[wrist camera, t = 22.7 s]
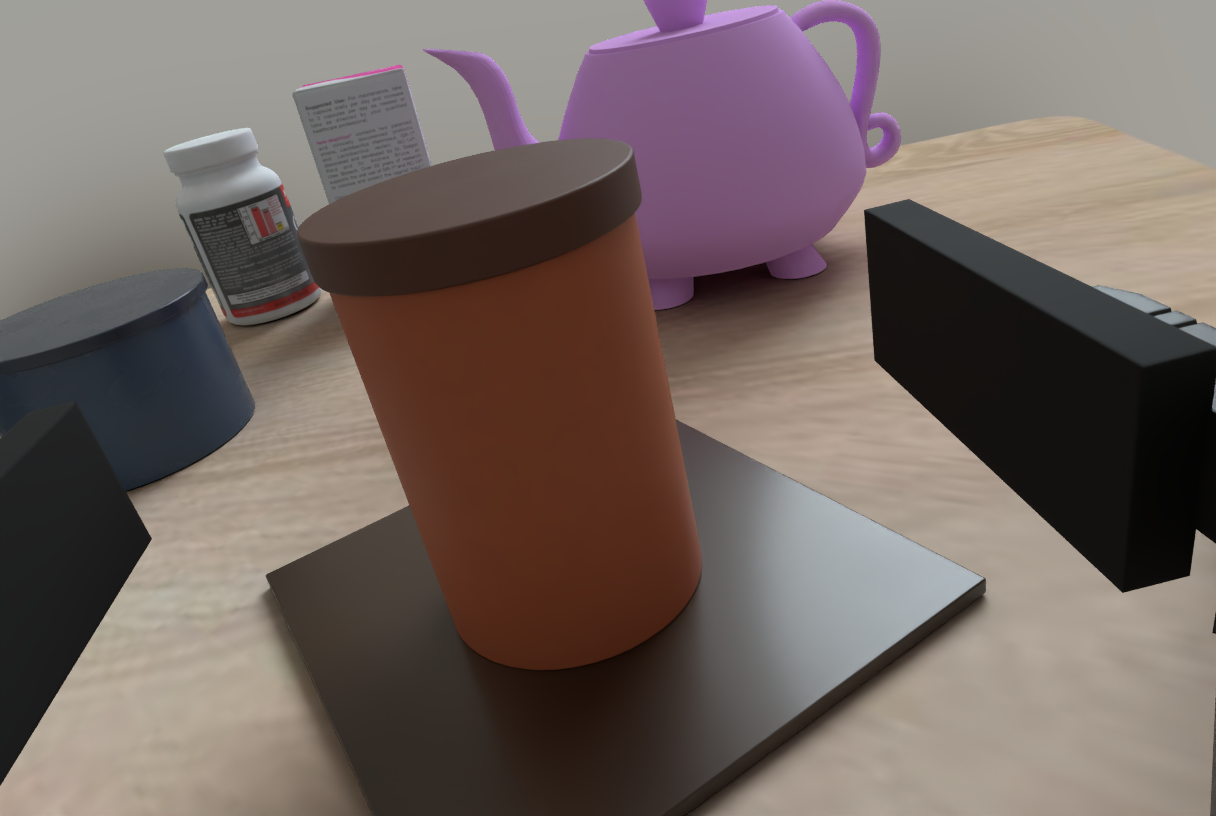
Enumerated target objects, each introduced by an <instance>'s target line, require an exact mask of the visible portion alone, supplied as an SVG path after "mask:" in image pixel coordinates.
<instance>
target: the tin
mask: <svg viewBox="0 0 1216 816" xmlns="http://www.w3.org/2000/svg"><path fill="white" fill-rule="evenodd" d="M207 286H208V284H207V282H206V280H205V277H204V275H203V273H202V272H200V271H198V270H195V269H188V268H186V269H167V270H160V271H154V272H148V273H143V274H138V275H133V276H129V277H125V278H120V279H117V280H113V281H109V282H106V283H102V284H99V285H95V286H91V287H88V288H85V289H82V290H78V291H75V292H73V293H69V294H66V295H64V296H61V297H58V298H55V299H52V300H50V301H47V302H44V303H41V304H39V305H36V306H34V307H31V308H28V309H26V310H24V311H21V312H19V313H16V314H14V315H12V316H10V317H7V318H5V319H3V320H1V321H0V438H1V437H2V436H3V435H4V434H5V433H7V432H8V431H9V430H10V429H11V428H12V427H13V426H14V425H15V424H16V423H18V422H19V421H20V420H21V419H22V418H23V417H24V416H25V415H26V414H27V413H29V412H33V411H37V410H41V409H45V408H49V407H54V406H58V405H62V404H66V403H70V402H74V401H76V403H77V405H78V407H79V408H80V410H81V412H82V414H83V416H84V417H85V419H86V421H87V423H88V425H89V426H90V428H91V430H92V432H93V434H94V435H95V437H96V439H97V441H98V443H99V444H100V446H101V448H102V450H103V452H104V453H105V455H106V457H107V459H108V461H109V462H110V464H111V466H112V468H113V470H114V471H115V473H116V475H117V477H118V479H119V480H120V482H121V484H122V486H123V488H124V489H125V491H127V490H130V489H133V488H136V487H139V486H142V485H145V484H147V483H150V482H153V481H155V480H158V479H160V478H162V477H165V476H167V475H169V474H171V473H174V472H176V471H178V470H180V469H182V468H184V467H186V466H188V465H190V464H192V463H194V462H195V461H197V460H199V459H201V458H203V457H204V456H206V455H207V454H209V453H211V452H212V451H214V450H216V449H217V448H218V447H220V446H221V445H223V444H224V443H226V442H227V441H228V440H229V439H231V438H232V437H233V436H234V435H236V434H237V433H238V432H239V431H240V430H241V429H242V428H243V427H244V426H245V425H246V423H247V422H248V421H249V420H250V418H251V416H252V415H253V412H254V409H255V402H254V400H253V397H252V395H251V393H250V391H249V388H248V386H247V384H246V382H245V379H244V377H243V375H242V373H241V371H240V368H239V366H238V364H237V362H236V359H235V357H234V355H233V353H232V350H231V348H230V346H229V344H228V341H227V339H226V337H225V335H224V333H223V330H222V328H221V326H220V324H219V321H218V319H217V317H216V315H215V312H214V310H213V308H212V306H211V303H210V301H209V299H208V297H207V294H206V292H205V291H206V290H207Z"/></svg>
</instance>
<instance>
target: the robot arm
mask: <svg viewBox="0 0 1216 816" xmlns="http://www.w3.org/2000/svg"><path fill="white" fill-rule="evenodd" d="M864 215H865V230H866V244H867V258H868V273H869V287H870V302H871V316H872V330H873V345H874V359H875V361H876V362H877V363H878V364H879V365H880V366H881V367H882V368H883V369H884V370H885V371H886V372H888V373H889V374H890V375H891V376H892V377H893V378H894V379H895V380H896V381H897V382H898V383H899V384H900V385H901V386H902V387H904V388H905V389H906V390H907V391H908V392H909V393H910V394H911V395H912V396H913V397H914V398H915V399H916V400H917V401H918V402H920V403H921V404H922V405H923V406H924V407H925V408H926V409H927V410H928V411H929V412H930V413H931V414H932V415H933V416H935V417H936V418H937V419H938V420H939V421H940V422H941V423H942V424H943V425H944V426H945V427H946V428H947V429H948V430H949V431H951V432H952V433H953V434H954V435H955V436H956V437H957V438H958V439H959V440H960V441H961V442H962V443H963V444H964V445H965V446H967V447H968V448H969V449H970V450H971V451H972V452H973V453H974V454H975V455H976V456H977V457H978V458H979V459H980V460H981V461H983V462H984V463H985V464H986V465H987V466H988V467H989V468H990V469H991V470H992V471H993V472H994V473H995V474H996V475H998V476H999V477H1000V478H1001V479H1002V480H1003V481H1004V482H1005V483H1006V484H1007V485H1008V486H1009V487H1010V488H1011V489H1012V490H1014V491H1015V492H1016V493H1017V494H1018V495H1019V496H1020V497H1021V498H1022V499H1023V500H1024V501H1025V502H1026V503H1027V504H1028V505H1030V506H1031V507H1032V508H1033V509H1034V510H1035V511H1036V512H1037V513H1038V514H1039V515H1040V516H1041V517H1042V518H1043V519H1044V520H1046V521H1047V522H1048V523H1049V524H1050V525H1051V526H1052V527H1053V528H1054V529H1055V530H1056V531H1057V532H1058V533H1059V534H1061V535H1062V536H1063V537H1064V538H1065V539H1066V540H1067V541H1068V542H1069V543H1070V544H1071V545H1072V546H1073V547H1074V548H1075V549H1077V550H1078V551H1079V552H1080V553H1081V554H1082V555H1083V556H1084V557H1085V558H1086V559H1087V560H1088V561H1089V562H1090V563H1091V564H1093V565H1094V566H1095V567H1096V568H1097V569H1098V570H1099V571H1100V572H1101V573H1102V574H1103V575H1104V576H1105V577H1106V578H1108V579H1109V580H1110V581H1111V582H1112V583H1113V584H1114V585H1115V586H1116V587H1117V588H1118V589H1119V590H1120V591H1121V592H1122V593H1124V592H1128V591H1132V590H1136V589H1140V588H1144V587H1147V586H1151V585H1155V584H1159V583H1163V582H1167V581H1171V580H1175V579H1179V578H1183V577H1187V576H1190V570H1191V563H1192V555H1193V548H1194V540H1195V533H1196V529H1197V530H1198V531H1200V532H1201V533H1202V534H1204V535H1205V536H1206V537H1208V538H1209V539H1210V540H1212V541H1213V542H1214V543H1216V328H1214V327H1212V326H1210V325H1207V324H1205V323H1199V324H1197V322H1196V319H1194V318H1192V317H1190V316H1188V315H1185V314H1183V313H1181V312H1179V311H1173V312H1172V311H1171V308H1170V307H1168V306H1166V305H1163V304H1161V303H1159V302H1157V301H1155V300H1152V299H1150V298H1148V297H1146V296H1144V295H1141V294H1138V293H1134V292H1129V291H1124V290H1119V289H1114V288H1109V287H1104V286H1099V285H1098V286H1094V287H1091V286H1089V285H1087V284H1085V283H1083V282H1081V281H1079V280H1076V279H1074V278H1072V277H1070V276H1068V275H1066V274H1064V273H1062V272H1060V271H1058V270H1056V269H1054V268H1051V267H1049V266H1047V265H1045V264H1043V263H1041V262H1039V261H1037V260H1035V259H1033V258H1031V257H1029V256H1026V255H1024V254H1022V253H1020V252H1018V251H1016V250H1014V249H1012V248H1010V247H1008V246H1006V245H1004V244H1001V243H999V242H997V241H995V240H993V239H991V238H989V237H987V236H985V235H983V234H981V233H979V232H976V231H974V230H972V229H970V228H968V227H966V226H964V225H962V224H960V223H958V222H956V221H954V220H951V219H949V218H947V217H945V216H943V215H941V214H939V213H937V212H935V211H933V210H931V209H929V208H926V207H924V206H922V205H920V204H918V203H916V202H914V201H912V200H910V199H908V200H903V201H899V202H895V203H891V204H887V205H883V206H879V207H875V208H870V209H866V210H864ZM151 539H152V538H151V536H150V535H149V533H148V531H147V529H146V527H145V526H144V524H143V522H142V520H141V518H140V517H139V515H138V513H137V511H136V509H135V508H134V506H133V504H132V502H131V500H130V498H129V497H128V495H127V493H126V491H125V489H124V488H123V486H122V484H121V482H120V480H119V479H118V477H117V475H116V473H115V471H114V470H113V468H112V466H111V464H110V462H109V461H108V459H107V457H106V455H105V453H104V452H103V450H102V448H101V446H100V444H99V443H98V441H97V439H96V437H95V435H94V434H93V432H92V430H91V428H90V426H89V425H88V423H87V421H86V419H85V417H84V416H83V414H82V412H81V410H80V408H79V407H78V405H77V403H76V401H74V402H70V403H66V404H62V405H58V406H54V407H49V408H45V409H41V410H37V411H33V412H29V413H27V414H26V415H25V416H24V417H23V418H22V419H21V420H20V421H19V422H18V423H16V424H15V425H14V426H13V427H12V428H11V429H10V430H9V431H8V432H7V433H5V434H4V435H3V436H2V437H1V438H0V785H1V784H2V782H3V781H4V779H5V777H6V776H7V774H8V772H9V771H10V769H11V767H12V766H13V764H14V763H15V761H16V759H17V758H18V756H19V754H20V753H21V751H22V750H23V748H24V746H25V745H26V743H27V741H28V740H29V738H30V737H31V735H32V733H33V732H34V730H35V728H36V727H37V725H38V723H39V722H40V720H41V719H42V717H43V715H44V714H45V712H46V710H47V709H48V707H49V706H50V704H51V702H52V701H53V699H54V697H55V696H56V694H57V693H58V691H59V689H60V688H61V686H62V684H63V683H64V681H65V680H66V678H67V676H68V675H69V673H70V671H71V670H72V668H73V666H74V665H75V663H76V662H77V660H78V658H79V657H80V655H81V653H82V652H83V650H84V649H85V647H86V645H87V644H88V642H89V640H90V639H91V637H92V636H93V634H94V632H95V631H96V629H97V627H98V626H99V624H100V622H101V621H102V619H103V618H104V616H105V614H106V613H107V611H108V609H109V608H110V606H111V605H112V603H113V601H114V600H115V598H116V596H117V595H118V593H119V592H120V590H121V588H122V587H123V585H124V583H125V582H126V580H127V579H128V577H129V575H130V574H131V572H132V570H133V569H134V567H135V565H136V564H137V562H138V561H139V559H140V557H141V556H142V554H143V552H144V551H145V549H146V548H147V546H148V544H149V543H150V541H151ZM1213 633H1215V634H1216V614H1215V620H1214V627H1213ZM1210 816H1216V700H1215V722H1214V744H1213V767H1212V789H1211V811H1210Z"/></svg>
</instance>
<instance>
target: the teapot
mask: <svg viewBox="0 0 1216 816" xmlns="http://www.w3.org/2000/svg"><path fill="white" fill-rule="evenodd" d="M644 1H645V4H646V6H647V8H648V10H649V12H650V13H651V15H652V17H653V19H654V21H655V23H656V24H657V26H655V27H651V28H648V29H644V30H640V31H636V32H632V33H629V34H625V35H622V36H618V37H615V38H612V39H608V40H606V41H603V42H600V43H598V44H595V45H593V46H591V47H590V48H589V51H588V52H586V54H585V57H584V59H583V61H582V64H581V66H580V69H579V71H578V74H577V77H576V79H575V83H574V86H573V89H572V92H571V95H570V99H569V102H568V105H567V109H566V112H565V115H564V119H563V123H562V127H561V132H560V136H559V140H567V139H585V138H598V139H611V140H617V141H621V142H624V143H626V144H628V145H630V147H631V148H632V149H633V151H634V155H635V161H636V166H637V171H638V176H639V182H640V187H641V192H642V201H641V204H640V206H639V208H638V209H637V211H636V212H635V214H636V219H637V224H638V229H639V234H640V239H641V244H642V249H643V255H644V260H645V265H646V270H647V275H648V280H649V285H650V291H651V296H652V301H653V306H654V310H661V309H668V308H672V307H676V306H679V305H681V304H684V303H686V302H687V301H689V300H690V299H691V298H692V297H693V294H694V292H693V277H695V276H704V275H710V274H716V273H722V272H727V271H732V270H737V269H741V268H745V267H749V266H753V265H757V264H761V263H764V262H766V264H767V267H768V269H769V271H770V273H771V275H772V276H774V277H777V278H782V279H796V278H803V277H808V276H811V275H814V274H817V273H819V272H821V271H823V270H824V269H825V268H826V266H827V264H826V262H825V261H824V260H823V258H822V257H821V256H820V255H819V253H818V252H817V251H816V249H815V248H814V247H813V246H812V243H814V242H816V241H818V240H819V239H821V238H822V237H824V236H825V235H826V234H828V233H829V232H830V231H831V230H832V229H833V228H834V227H835V225H836V224H837V223H838V221H839V220H840V218H841V217H842V216H843V215H844V214H845V212H846V211H847V210H848V208H849V207H850V205H851V204H852V202H853V201H854V199H855V198H856V196H857V194H858V193H859V191H860V189H861V187H862V185H863V182H864V178H865V175H866V168H873V167H877V166H880V165H882V164H883V163H885V162H887V161H888V160H889V159H891V158H892V157H893V156H894V155H895V154H896V153H897V151H898V149H899V146H900V142H901V131H900V128H899V126H898V123H897V122H896V120H895V119H894V118H893V117H892V116H890V115H889V114H887V113H881V112H879V113H875V114H872V115H870V113H871V108H872V103H873V99H874V94H875V89H876V84H877V79H878V73H879V65H880V52H881V50H880V37H879V33H878V29H877V27H876V24H875V22H874V21H873V19H872V18H871V17H870V16H869V15H868V13H866V12H865V11H864V10H863V9H861V8H860V7H857V6H856V5H853V4H851V3H848V2H844V1H838V0H825V1H819V2H815V3H813V4H810V5H808V6H806V7H804V8H803V9H801V10H800V11H798V12H797V13H795V14H794V15H793V16H792V17H791V18H790V17H789V16H788V15H787V14H786V13H785V12H784V11H783V10H782V9H778V7H777V6H774V5H769V6H757V7H750V8H743V9H737V10H731V11H726V12H720V13H715V14H710V15H705V16H704V14H705V8H706V2H707V0H644ZM829 21H837V22H842V23H845V24H847V25H848V26H850V27H851V28H852V30H853V32H854V34H855V38H856V43H857V67H856V75H855V81H854V87H853V92H852V97H851V101H850V103H849V101H848V99H847V97H846V95H845V93H844V91H843V89H842V87H841V85H840V84H839V82H838V81H837V79H836V77H835V76H834V74H833V73H832V71H831V70H830V68H829V67H828V65H827V64H826V62H825V61H824V60H823V58H822V57H821V56H820V54H819V53H818V52H817V50H816V49H815V48H814V47H813V45H812V44H811V43H810V41H809V40H808V39H807V37H806V36H805V35H804V33H803V31H804V30H807V29H808V28H811V27H813V26H815V25H818V24H820V23H824V22H829ZM423 50H424V51H425V52H427V53H428V54H430V55H432V56H434V57H436V58H438V59H440V60H441V61H443V62H444V63H446V64H447V65H449V66H451V67H452V68H454V69H455V70H456V71H457V72H458V73H459V74H460V75H461V76H462V77H463V78H464V79H465V80H466V81H467V82H468V84H469V85H470V87H471V89H472V90H473V92H474V93H475V95H476V97H477V98H478V101H479V103H480V106H481V108H482V110H483V113H484V116H485V119H486V122H487V125H488V129H489V132H490V135H491V138H492V142H493V145H494V149H495V150H500V149H505V148H510V147H516V146H522V145H528V144H534V143H539V142H538V141H537V140H536V139H535V138H533V137H532V135H531V134H530V133H529V131H528V130H527V128H526V127H525V125H524V122H523V120H522V118H521V115H520V113H519V110H518V107H517V104H516V101H515V97H514V95H513V92H512V89H511V86H510V84H509V82H508V80H507V77H506V76H505V74H504V73H503V71H502V69H501V68H500V67H499V66H498V65H497V64H496V63H495V62H494V61H493V60H492V59H491V58H490V57H488V56H487V55H484V54H482V53H476V52H466V51H453V50H436V49H423ZM876 127H881V128H882V129H883V132H884V136H883V139H882V140H881V141H880V142H879V144H878V145H876V146H875V147H873V148H869V147H868V144H867V131H868V130H871V129H873V128H876Z"/></svg>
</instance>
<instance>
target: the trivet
mask: <svg viewBox="0 0 1216 816" xmlns="http://www.w3.org/2000/svg"><path fill="white" fill-rule="evenodd" d="M676 424H677V429H678V435H679V440H680V445H681V450H682V455H683V460H684V465H685V471H686V476H687V481H688V486H689V491H690V496H691V501H692V507H693V512H694V517H695V522H696V527H697V532H698V537H699V542H700V548H701V554H702V569H701V575H700V578H699V582H698V585H697V587H696V589H695V591H694V593H693V595H692V597H691V598H690V600H689V601H688V603H687V604H686V606H685V607H684V608H683V610H682V611H681V612H680V613H679V614H678V615H677V616H676V617H675V618H674V620H672V621H671V622H670V623H669V624H668V625H667V626H666V627H664V628H663V629H662V630H661V631H659V632H658V633H657V634H655V635H654V636H652V637H651V638H649V639H648V640H646V641H645V642H643V643H641V644H639V645H637V646H636V647H634V648H632V649H630V650H628V651H626V652H623V653H621V654H619V655H616V656H614V657H611V658H608V659H605V660H602V661H599V662H596V663H592V664H588V665H584V666H580V667H574V668H567V669H560V670H528V669H520V668H514V667H509V666H505V665H502V664H499V663H496V662H493V661H491V660H489V659H487V658H485V657H483V656H481V655H480V654H478V653H477V652H476V651H474V650H473V649H471V648H470V647H469V646H468V645H467V644H466V643H465V641H464V640H463V639H462V638H461V636H460V635H459V633H458V631H457V630H456V627H455V625H454V622H453V619H452V617H451V614H450V611H449V609H448V606H447V603H446V601H445V598H444V595H443V593H442V590H441V587H440V585H439V582H438V579H437V577H436V574H435V571H434V569H433V566H432V563H431V561H430V558H429V556H428V553H427V550H426V548H425V545H424V542H423V540H422V537H421V534H420V532H419V529H418V526H417V524H416V521H415V518H414V516H413V513H412V510H411V508H410V505H409V506H407V507H405V508H403V509H401V510H399V511H397V512H395V513H393V514H391V515H389V516H387V517H384V518H382V519H380V520H378V521H376V522H374V523H372V524H370V525H368V526H366V527H364V528H362V529H360V530H358V531H355V532H353V533H351V534H349V535H347V536H345V537H343V538H341V539H339V540H337V541H335V542H333V543H331V544H329V545H326V546H324V547H322V548H320V549H318V550H316V551H314V552H312V553H310V554H308V555H306V556H304V557H302V558H300V559H297V560H295V561H293V562H291V563H289V564H287V565H285V566H283V567H281V568H279V569H277V570H275V571H273V572H271V573H268V574H267V575H266V578H267V581H268V583H269V585H270V587H271V589H272V592H273V594H274V596H275V598H276V601H277V603H278V605H279V607H280V609H281V612H282V614H283V616H284V618H285V621H286V623H287V625H288V627H289V629H290V632H291V634H292V636H293V638H294V641H295V643H296V645H297V647H298V649H299V652H300V654H301V656H302V658H303V661H304V663H305V665H306V667H307V669H308V672H309V674H310V676H311V678H312V681H313V683H314V685H315V687H316V689H317V692H318V694H319V696H320V698H321V701H322V703H323V705H324V707H325V709H326V712H327V714H328V716H329V718H330V721H331V723H332V725H333V727H334V729H335V732H336V734H337V736H338V738H339V741H340V743H341V745H342V747H343V749H344V752H345V754H346V756H347V758H348V761H349V763H350V765H351V767H352V769H353V772H354V774H355V776H356V778H357V781H358V783H359V785H360V787H361V789H362V792H363V794H364V796H365V798H366V801H367V803H368V805H369V807H370V810H371V812H372V814H373V816H685V815H686V814H688V813H689V812H690V811H692V810H693V809H694V808H696V807H697V806H698V805H700V804H701V803H702V802H704V801H705V800H706V799H708V798H709V797H711V796H712V795H713V794H715V793H716V792H717V791H719V790H720V789H721V788H723V787H724V786H725V785H727V784H728V783H729V782H731V781H732V780H733V779H735V778H736V777H737V776H739V775H740V774H741V773H743V772H744V771H746V770H747V769H748V768H750V767H751V766H752V765H754V764H755V763H756V762H758V761H759V760H760V759H762V758H763V757H764V756H766V755H767V754H768V753H770V752H771V751H772V750H774V749H775V748H776V747H778V746H779V745H780V744H782V743H783V742H785V741H786V740H787V739H789V738H790V737H791V736H793V735H794V734H795V733H797V732H798V731H799V730H801V729H802V728H803V727H805V726H806V725H807V724H809V723H810V722H811V721H813V720H814V719H815V718H817V717H818V716H820V715H821V714H822V713H824V712H825V711H826V710H828V709H829V708H830V707H832V706H833V705H834V704H836V703H837V702H838V701H840V700H841V699H842V698H844V697H845V696H846V695H848V694H849V693H850V692H852V691H853V690H855V689H856V688H857V687H859V686H860V685H861V684H863V683H864V682H865V681H867V680H868V679H869V678H871V677H872V676H873V675H875V674H876V673H877V672H879V671H880V670H881V669H883V668H884V667H885V666H887V665H888V664H889V663H891V662H892V661H894V660H895V659H896V658H898V657H899V656H900V655H902V654H903V653H904V652H906V651H907V650H908V649H910V648H911V647H912V646H914V645H915V644H916V643H918V642H919V641H920V640H922V639H923V638H924V637H926V636H927V635H929V634H930V633H931V632H933V631H934V630H935V629H937V628H938V627H939V626H941V625H942V624H943V623H945V622H946V621H947V620H949V619H950V618H951V617H953V616H954V615H955V614H957V613H958V612H959V611H961V610H962V609H964V608H965V607H966V606H968V605H969V604H970V603H972V602H973V601H974V600H976V599H977V598H978V597H980V596H981V595H982V594H984V593H985V591H986V579H985V578H983V577H982V576H980V575H978V574H976V573H974V572H972V571H970V570H968V569H966V568H964V567H962V566H960V565H958V564H956V563H954V562H952V561H950V560H948V559H946V558H945V557H943V556H941V555H939V554H937V553H935V552H933V551H931V550H929V549H927V548H925V547H923V546H921V545H919V544H917V543H915V542H913V541H911V540H910V539H908V538H906V537H904V536H902V535H900V534H898V533H896V532H894V531H892V530H890V529H888V528H886V527H884V526H882V525H880V524H878V523H876V522H874V521H873V520H871V519H869V518H867V517H865V516H863V515H861V514H859V513H857V512H855V511H853V510H851V509H849V508H847V507H845V506H843V505H841V504H839V503H837V502H836V501H834V500H832V499H830V498H828V497H826V496H824V495H822V494H820V493H818V492H816V491H814V490H812V489H810V488H808V487H806V486H804V485H802V484H801V483H799V482H797V481H795V480H793V479H791V478H789V477H787V476H785V475H783V474H781V473H779V472H777V471H775V470H773V469H771V468H769V467H767V466H765V465H764V464H762V463H760V462H758V461H756V460H754V459H752V458H750V457H748V456H746V455H744V454H742V453H740V452H738V451H736V450H734V449H732V448H730V447H728V446H727V445H725V444H723V443H721V442H719V441H717V440H715V439H713V438H711V437H709V436H707V435H705V434H703V433H701V432H699V431H697V430H695V429H693V428H692V427H690V426H688V425H686V424H684V423H682V422H680V421H678V420H676Z"/></svg>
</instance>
